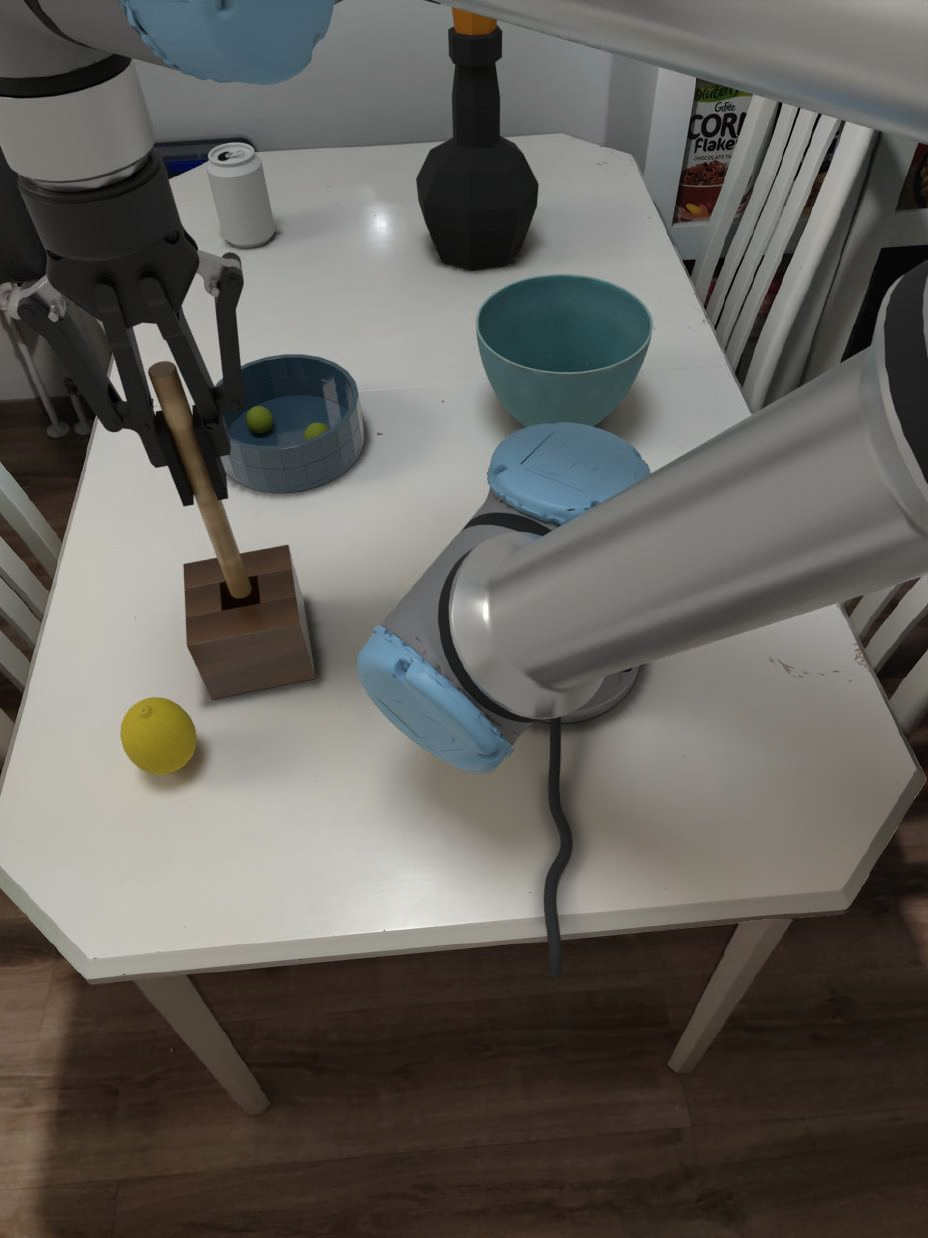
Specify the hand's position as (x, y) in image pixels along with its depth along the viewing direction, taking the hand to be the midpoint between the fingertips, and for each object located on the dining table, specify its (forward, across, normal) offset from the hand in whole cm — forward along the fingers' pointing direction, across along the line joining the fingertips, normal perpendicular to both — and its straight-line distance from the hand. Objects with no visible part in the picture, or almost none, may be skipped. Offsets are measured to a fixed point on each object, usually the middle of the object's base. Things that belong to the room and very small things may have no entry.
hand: (205, 489), depth 64 cm
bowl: (+20, -6, -28) cm, 35 cm away
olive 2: (+18, -9, -26) cm, 32 cm away
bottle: (+20, -36, -63) cm, 75 cm away
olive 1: (+17, -3, -30) cm, 35 cm away
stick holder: (+20, 0, 0) cm, 20 cm away
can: (+20, -5, -75) cm, 78 cm away
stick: (+11, 0, 0) cm, 11 cm away
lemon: (+20, +8, +10) cm, 24 cm away
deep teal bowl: (+20, -36, -25) cm, 48 cm away
